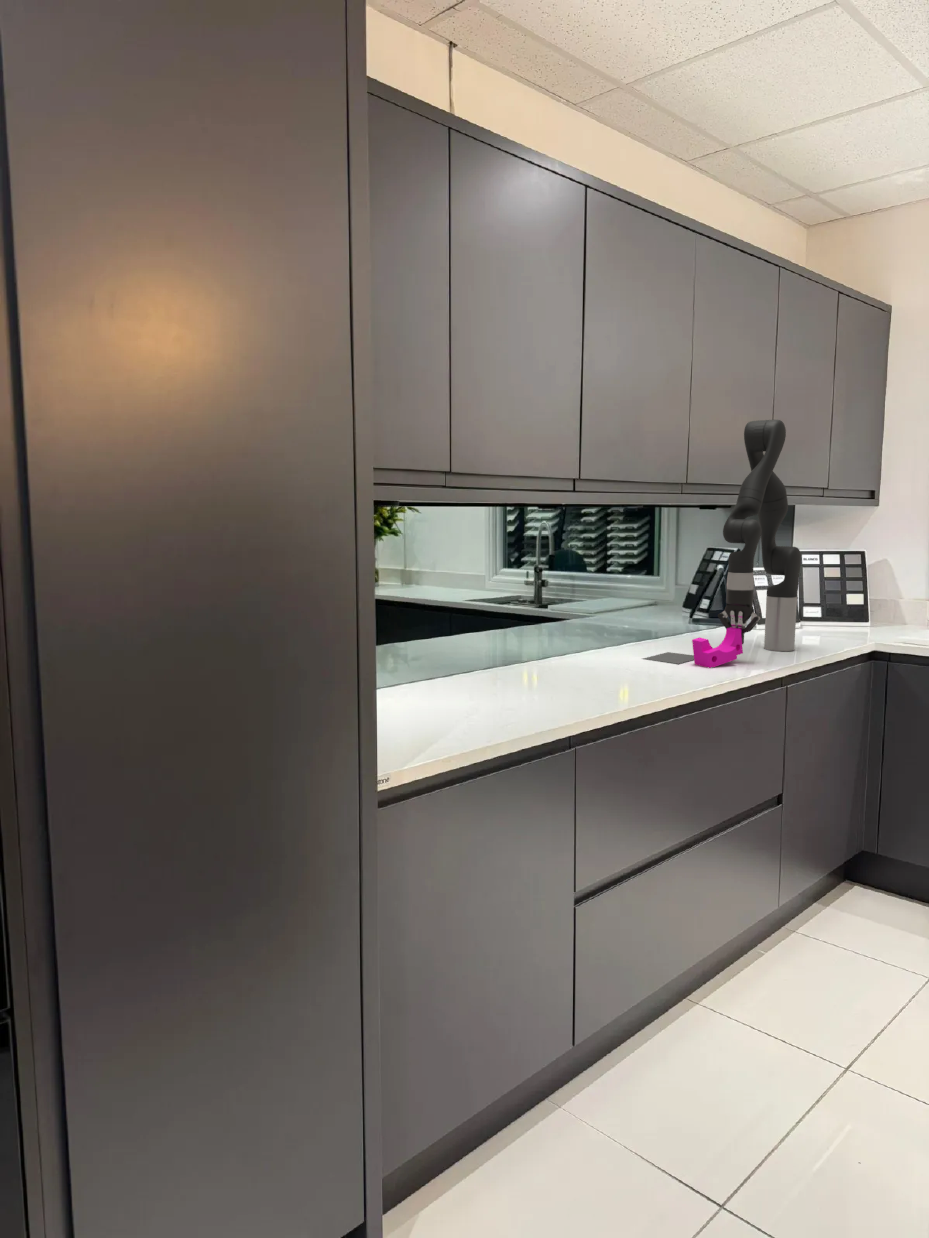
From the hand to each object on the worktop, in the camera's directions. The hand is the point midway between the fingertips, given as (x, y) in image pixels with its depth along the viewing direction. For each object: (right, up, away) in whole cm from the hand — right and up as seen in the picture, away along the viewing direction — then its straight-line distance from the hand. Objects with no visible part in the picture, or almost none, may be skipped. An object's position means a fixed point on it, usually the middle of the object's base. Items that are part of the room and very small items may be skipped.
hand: (738, 646), depth 256 cm
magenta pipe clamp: (-6, -4, -4) cm, 8 cm away
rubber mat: (-18, -4, +4) cm, 19 cm away
